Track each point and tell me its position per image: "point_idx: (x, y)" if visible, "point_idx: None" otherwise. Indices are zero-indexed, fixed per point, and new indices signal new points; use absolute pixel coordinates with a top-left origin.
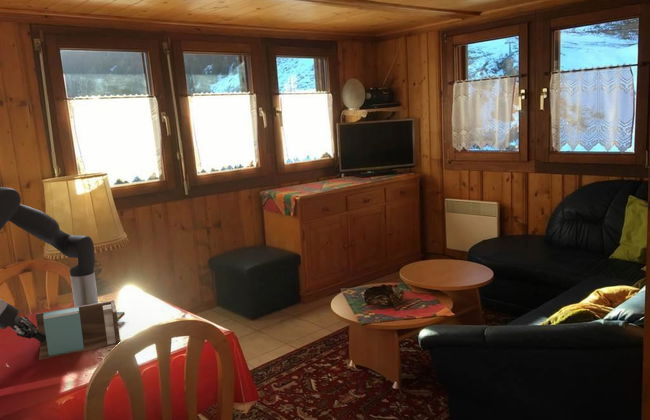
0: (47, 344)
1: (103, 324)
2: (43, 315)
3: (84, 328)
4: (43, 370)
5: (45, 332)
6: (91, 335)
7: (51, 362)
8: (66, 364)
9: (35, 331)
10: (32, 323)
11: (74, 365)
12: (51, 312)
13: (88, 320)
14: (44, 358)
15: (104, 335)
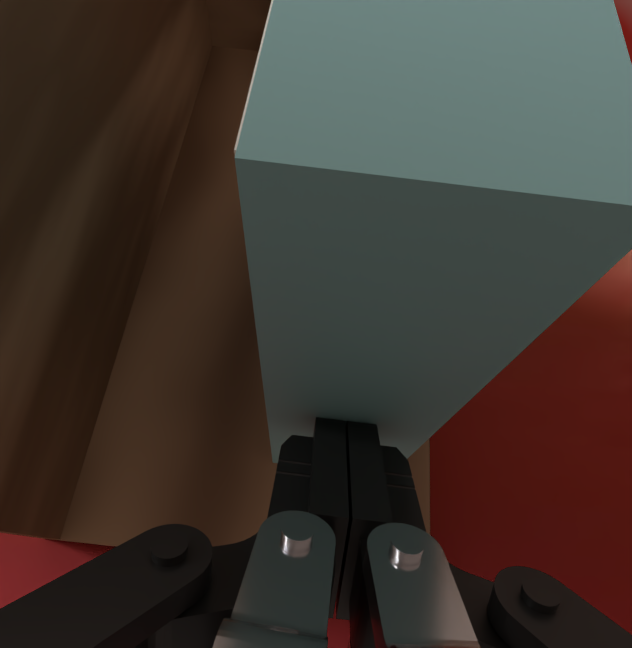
0: (416, 445)
1: (184, 12)
2: (494, 184)
3: (150, 117)
4: (586, 550)
5: (467, 397)
6: (177, 143)
7: (439, 471)
8: (538, 370)
9: (447, 564)
10: (28, 612)
11: (581, 324)
12: (328, 5)
13: (141, 20)
14: (427, 520)
15: (220, 92)
